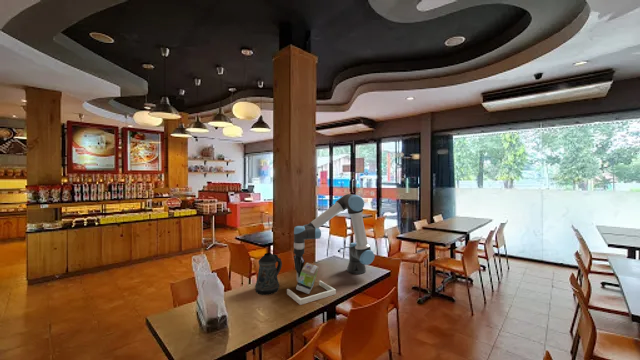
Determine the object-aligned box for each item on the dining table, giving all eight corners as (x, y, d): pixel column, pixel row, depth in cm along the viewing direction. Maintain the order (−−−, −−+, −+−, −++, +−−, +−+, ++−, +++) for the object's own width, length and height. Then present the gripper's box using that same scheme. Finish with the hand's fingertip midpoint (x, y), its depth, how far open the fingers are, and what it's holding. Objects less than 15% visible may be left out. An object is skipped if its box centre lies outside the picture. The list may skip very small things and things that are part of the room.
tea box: (309, 294, 179) (315, 273, 178) (295, 289, 180) (301, 268, 179) (313, 285, 194) (319, 266, 193) (300, 280, 195) (306, 261, 194)
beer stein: (250, 293, 181) (249, 256, 180) (264, 282, 199) (263, 249, 199) (273, 296, 176) (272, 258, 176) (284, 284, 195) (284, 250, 194)
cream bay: (320, 284, 195) (320, 280, 195) (336, 294, 179) (335, 289, 179) (286, 293, 180) (286, 289, 180) (300, 305, 165) (300, 300, 165)
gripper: (290, 246, 196) (290, 278, 197) (298, 251, 185) (298, 285, 186) (299, 245, 200) (299, 276, 201) (308, 249, 189) (307, 282, 190)
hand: (298, 280), depth 193 cm, fingers closed
